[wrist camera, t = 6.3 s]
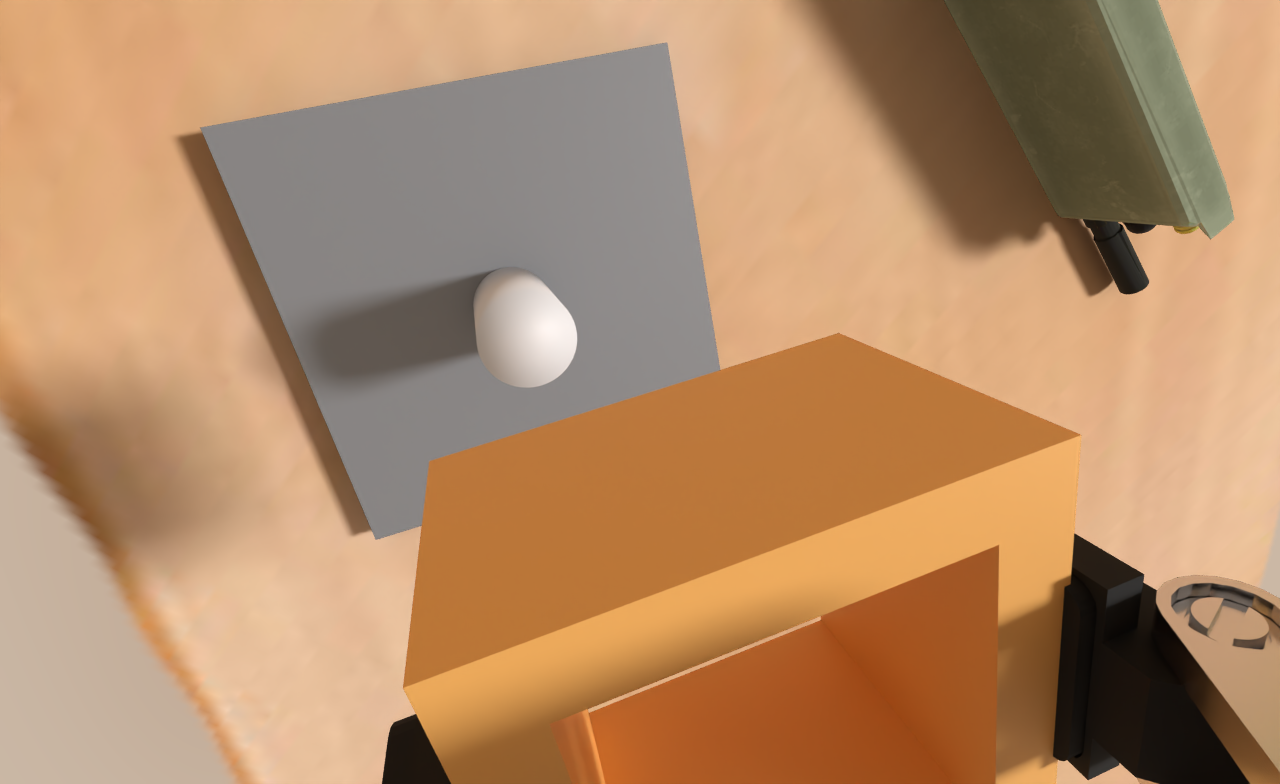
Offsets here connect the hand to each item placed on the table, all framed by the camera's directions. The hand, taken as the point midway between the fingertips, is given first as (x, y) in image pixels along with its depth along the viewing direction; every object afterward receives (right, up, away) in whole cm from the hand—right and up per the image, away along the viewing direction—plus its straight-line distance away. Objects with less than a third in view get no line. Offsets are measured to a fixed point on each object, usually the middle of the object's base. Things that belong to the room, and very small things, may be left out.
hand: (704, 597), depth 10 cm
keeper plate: (-6, +7, +15) cm, 17 cm away
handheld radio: (+16, +17, +18) cm, 30 cm away
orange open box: (0, 0, +1) cm, 1 cm away
